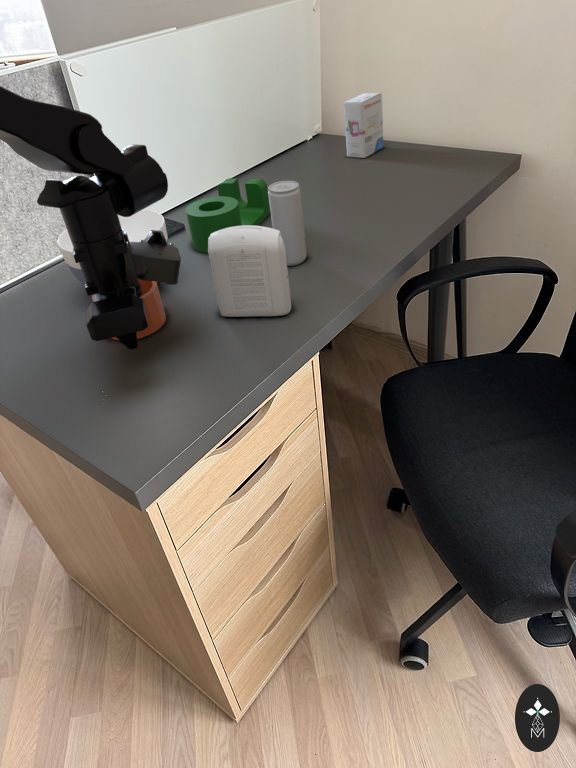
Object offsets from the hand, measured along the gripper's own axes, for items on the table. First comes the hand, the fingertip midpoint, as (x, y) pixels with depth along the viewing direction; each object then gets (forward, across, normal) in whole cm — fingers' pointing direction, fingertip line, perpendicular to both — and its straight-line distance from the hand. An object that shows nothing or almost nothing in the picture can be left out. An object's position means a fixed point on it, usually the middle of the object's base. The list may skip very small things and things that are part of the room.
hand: (133, 347), depth 73 cm
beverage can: (+1, +17, -26) cm, 31 cm away
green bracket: (+1, +34, -19) cm, 39 cm away
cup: (+1, +9, 0) cm, 9 cm away
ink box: (+1, +63, -58) cm, 85 cm away
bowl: (+1, +21, 0) cm, 21 cm away
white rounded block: (+1, +4, -17) cm, 18 cm away
